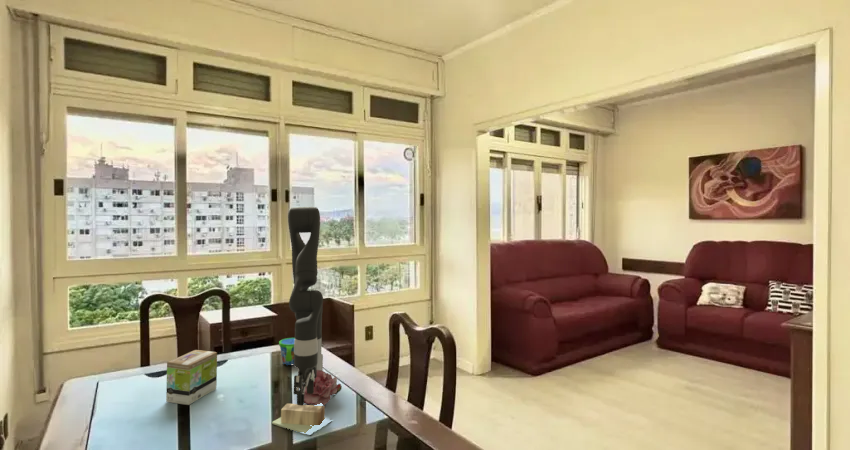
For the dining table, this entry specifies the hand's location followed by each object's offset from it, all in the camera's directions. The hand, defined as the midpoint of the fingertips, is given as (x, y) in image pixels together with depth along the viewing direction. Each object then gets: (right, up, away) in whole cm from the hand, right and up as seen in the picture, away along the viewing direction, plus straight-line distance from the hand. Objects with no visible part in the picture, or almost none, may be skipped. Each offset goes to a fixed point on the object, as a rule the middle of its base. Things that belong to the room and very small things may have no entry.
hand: (305, 398), depth 151 cm
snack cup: (-20, -5, +54) cm, 58 cm away
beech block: (-7, -5, +1) cm, 9 cm away
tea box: (-47, -6, +19) cm, 51 cm away
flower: (+1, -7, +18) cm, 19 cm away
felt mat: (-1, -8, +1) cm, 8 cm away
